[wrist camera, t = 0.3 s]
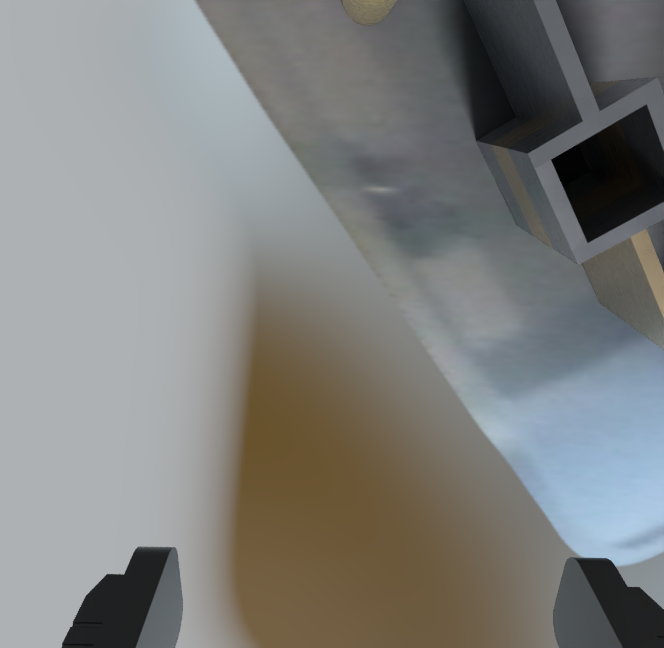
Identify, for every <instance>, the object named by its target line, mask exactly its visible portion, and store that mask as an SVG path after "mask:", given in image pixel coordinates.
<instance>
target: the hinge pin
mask: <svg viewBox="0 0 664 648" xmlns="http://www.w3.org/2000/svg"><path fill="white" fill-rule="evenodd" d="M396 1H397V0H342V3H343V7H344V9H345V11H346V13H347V15H348V16H349V17H350V18H351V19H352V20H353V21H354V22H356V23H358V24H361V25H374V24H377V23H379V22H381V21H382V20H383V19H384V18H385V17H386V16H387V15H388V14H389V12H390V11H391V9H392V7H393V6H394V4H395V3H396Z"/></svg>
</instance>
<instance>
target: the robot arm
mask: <svg viewBox="0 0 664 648" xmlns="http://www.w3.org/2000/svg"><path fill="white" fill-rule="evenodd" d="M182 611H183V599H182V590H181V581H180V572H179V563H178V554H177V550H176V548H175V547H138V548H137V549H136V550H135V551H134V553H133V556H132V558H131V560H130V562H129V565H128V567H127V570H126V572H125V574H124V575H121V574H119V575H117V574H107V575H106V576H105V577H104V578H103V579H102V580H101V581H100V582H99V583H98V584H97V585H96V586H95V587H94V588H93V589H92V590H91V591H90V592H89V593H88V594H87V595H86V597H85V599H84V601H83V603H82V605H81V607H80V609H79V611H78V613H77V615H76V617H75V619H74V621H73V626H72V627H70V629H69V631H68V633H67V635H66V637H65V639H64V642H63V643H62V648H175V646H176V642H177V639H178V635H179V631H180V626H181V620H182ZM553 625H554V632H555V636H556V640H557V643H558V646H559V648H664V609H662V608H661V607H660V606H659V605H658V604H657V603H656V602H655V601H654V600H653V599H652V598H650V597H649V596H648V595H647V594H646V593H645V592H644V591H643V590H642V589H641V588H640V587H627V585H626V584H625V582H624V580H623V578H622V577H621V575H620V574H619V572H618V570H617V568H616V567H615V565H614V564H613V563H612V561H610V560H609V559H607V558H569V559H567V561H566V564H565V567H564V571H563V575H562V578H561V582H560V586H559V590H558V594H557V598H556V602H555V606H554V610H553Z"/></svg>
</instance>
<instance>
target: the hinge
mask: <svg viewBox="0 0 664 648" xmlns="http://www.w3.org/2000/svg"><path fill="white" fill-rule="evenodd" d="M463 1H464V3H465V5H466V7H467V9H468V12H469V14H470V16H471V18H472V21H473V23H474V25H475V27H476V29H477V32H478V34H479V36H480V38H481V41H482V43H483V45H484V47H485V49H486V52H487V54H488V56H489V58H490V61H491V63H492V65H493V67H494V69H495V72H496V74H497V76H498V78H499V80H500V83H501V85H502V87H503V89H504V92H505V94H506V96H507V98H508V100H509V103H510V105H511V107H512V109H513V112H514V114H515V116H516V117H515V118H514V119H512V120H510V121H509V122H507V123H505V124H504V125H502V126H500V127H499V128H497V129H495V130H494V131H492V132H490V133H489V134H487V135H485V136H484V137H482V138H481V139H479V140H477V141H476V142H477V144H478V146H479V148H480V150H481V152H482V154H483V156H484V158H485V160H486V162H487V164H488V166H489V169H490V171H491V173H492V175H493V177H494V179H495V181H496V183H497V185H498V187H499V189H500V191H501V193H502V195H503V198H504V200H505V202H506V204H507V206H508V208H509V210H510V212H511V214H512V216H513V218H514V220H515V222H516V224H517V226H518V227H520V228H522V229H523V230H525V231H526V232H528V233H529V234H531V235H533V236H534V237H536V238H537V239H539V240H540V241H542V242H543V243H545V244H547V245H548V246H550V247H551V248H553V249H554V250H556V251H557V252H559V253H561V254H562V255H564V256H565V257H567V258H568V259H570V260H571V261H573V262H575V263H576V264H578V265H579V264H581V263H582V265H583V267H584V269H585V271H586V274H587V276H588V278H589V280H590V282H591V285H592V287H593V289H594V291H595V294H596V296H597V298H598V300H599V302H600V304H602V305H603V306H604V307H606V308H607V309H608V310H610V311H611V312H613V313H614V314H615V315H617V316H618V317H619V318H621V319H622V320H624V321H625V322H626V323H628V324H629V325H630V326H632V327H633V328H634V329H636V330H637V331H639V332H640V333H641V334H643V335H644V336H645V337H647V338H648V339H649V340H651V341H652V342H654V343H655V344H656V345H658V346H659V347H660V348H662V349H663V350H664V272H663V270H662V267H661V265H660V262H659V260H658V257H657V254H656V252H655V249H654V247H653V244H652V242H651V239H650V237H649V234H648V232H647V229H646V228H648V227H650V226H652V225H654V224H656V223H658V222H660V221H661V220H663V219H664V92H663V90H662V87H661V84H660V81H659V78H658V77H654V78H642V79H631V80H619V81H608V82H596V83H588V80H587V78H586V75H585V72H584V70H583V67H582V65H581V62H580V60H579V57H578V55H577V52H576V50H575V47H574V45H573V42H572V40H571V37H570V35H569V32H568V29H567V27H566V24H565V22H564V19H563V17H562V14H561V12H560V9H559V7H558V4H557V2H556V0H463ZM577 144H579V146H580V149H581V151H582V153H583V156H584V158H585V161H586V163H587V165H588V168H589V170H590V171H589V172H587V173H586V174H584V175H582V176H580V177H578V178H577V179H575V180H573V181H571V182H570V183H568V184H566V185H564V186H562V184H561V182H560V179H559V177H558V175H557V173H556V170H555V168H554V166H553V163H552V161H551V159H553V158H555V157H556V156H558V155H560V154H561V153H563V152H565V151H567V150H568V149H570V148H572V147H574V146H575V145H577Z"/></svg>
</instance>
